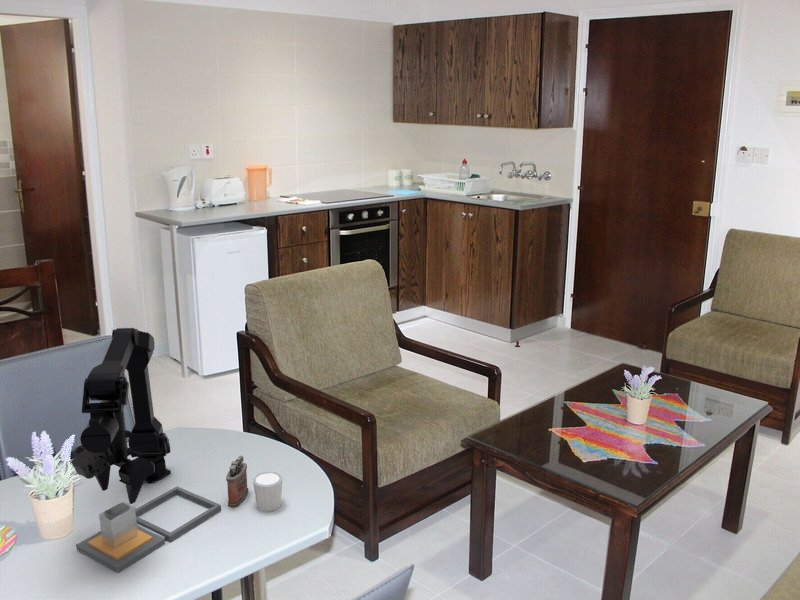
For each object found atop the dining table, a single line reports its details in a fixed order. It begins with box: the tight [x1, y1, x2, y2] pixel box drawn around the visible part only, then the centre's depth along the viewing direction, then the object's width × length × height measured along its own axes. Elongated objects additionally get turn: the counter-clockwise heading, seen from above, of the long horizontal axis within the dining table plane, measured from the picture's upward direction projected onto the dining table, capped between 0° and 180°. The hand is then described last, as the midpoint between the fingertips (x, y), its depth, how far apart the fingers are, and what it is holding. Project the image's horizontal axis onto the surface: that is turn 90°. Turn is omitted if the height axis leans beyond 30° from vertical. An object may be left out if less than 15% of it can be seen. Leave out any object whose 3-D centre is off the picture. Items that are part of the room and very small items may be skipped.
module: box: [98, 501, 138, 549], centre depth 163 cm, size 4×6×8 cm, turn 147°
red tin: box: [225, 455, 249, 509], centre depth 182 cm, size 8×3×10 cm, turn 168°
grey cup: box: [252, 471, 283, 513], centre depth 179 cm, size 7×7×7 cm
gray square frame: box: [135, 486, 222, 543], centre depth 176 cm, size 15×15×2 cm
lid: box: [75, 524, 166, 573], centre depth 164 cm, size 14×13×2 cm
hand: (118, 496), depth 161 cm, fingers open, 9 cm apart
